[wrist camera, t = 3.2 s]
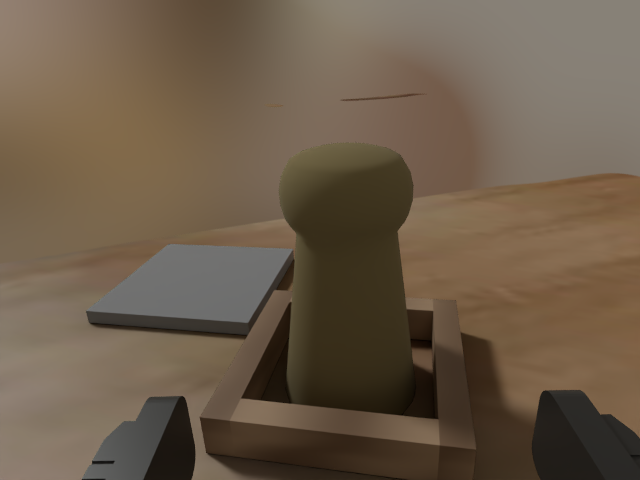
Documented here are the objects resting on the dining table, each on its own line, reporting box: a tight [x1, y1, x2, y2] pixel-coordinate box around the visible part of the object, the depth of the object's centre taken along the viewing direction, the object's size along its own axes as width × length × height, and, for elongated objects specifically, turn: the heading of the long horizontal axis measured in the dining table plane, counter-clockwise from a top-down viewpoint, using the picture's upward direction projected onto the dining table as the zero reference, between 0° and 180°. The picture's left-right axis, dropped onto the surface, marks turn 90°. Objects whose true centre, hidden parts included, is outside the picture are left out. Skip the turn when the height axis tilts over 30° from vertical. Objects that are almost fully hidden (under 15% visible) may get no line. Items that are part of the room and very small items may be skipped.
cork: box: [279, 143, 416, 415], centre depth 20 cm, size 6×6×11 cm
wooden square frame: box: [200, 290, 477, 480], centre depth 22 cm, size 10×10×2 cm
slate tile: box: [86, 244, 294, 335], centre depth 31 cm, size 10×10×1 cm
